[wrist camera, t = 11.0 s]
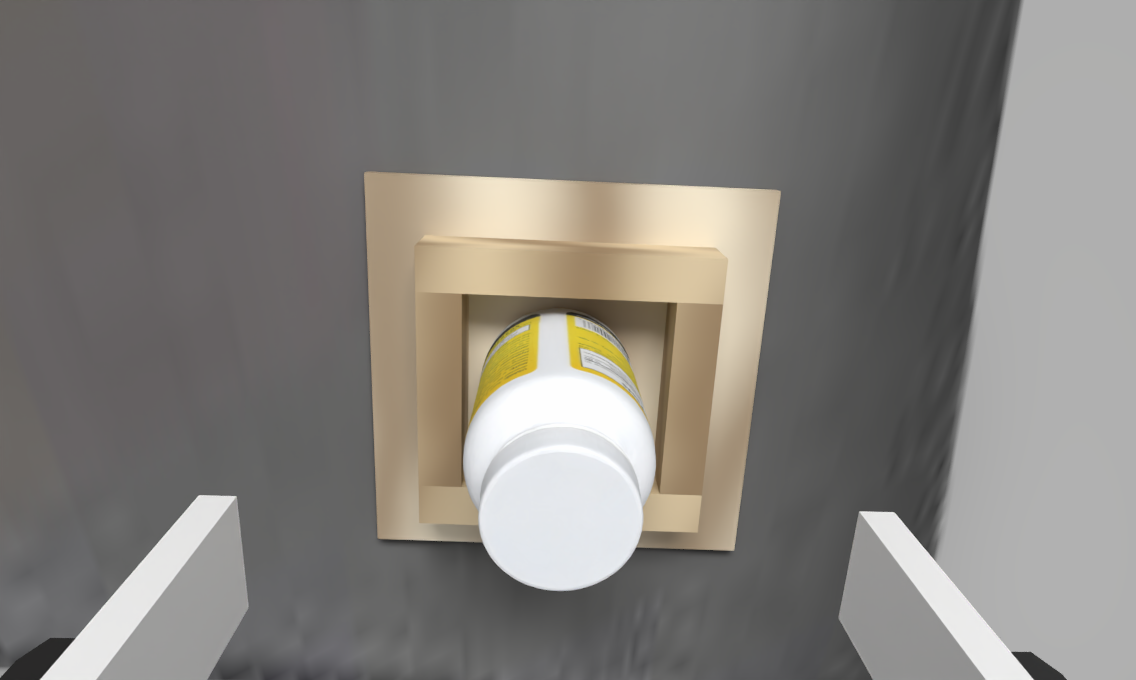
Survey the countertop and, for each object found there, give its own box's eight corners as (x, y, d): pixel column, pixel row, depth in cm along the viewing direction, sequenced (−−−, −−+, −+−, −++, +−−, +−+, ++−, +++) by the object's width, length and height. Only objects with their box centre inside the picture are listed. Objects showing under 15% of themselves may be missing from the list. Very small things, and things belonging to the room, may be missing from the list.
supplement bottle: (485, 445, 28) (451, 618, 18) (480, 305, 26) (438, 416, 17) (630, 444, 28) (668, 615, 18) (633, 304, 26) (678, 414, 17)
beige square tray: (380, 531, 29) (364, 569, 27) (367, 171, 25) (347, 178, 23) (731, 543, 30) (746, 581, 27) (776, 190, 25) (798, 198, 23)
